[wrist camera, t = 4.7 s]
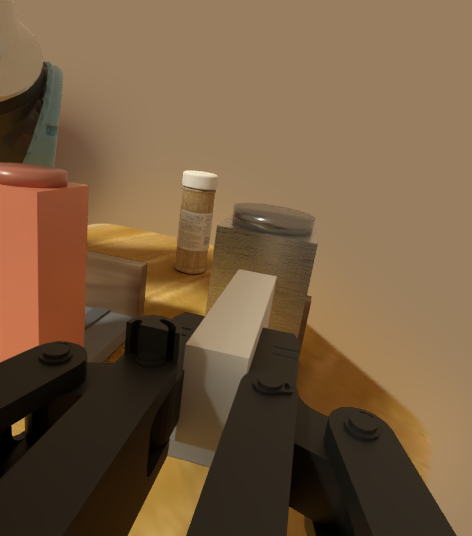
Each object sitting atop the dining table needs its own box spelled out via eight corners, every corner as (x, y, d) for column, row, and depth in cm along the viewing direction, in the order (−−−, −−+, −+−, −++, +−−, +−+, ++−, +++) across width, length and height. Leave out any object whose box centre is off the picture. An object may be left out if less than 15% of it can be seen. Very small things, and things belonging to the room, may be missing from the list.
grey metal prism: (274, 446, 22) (321, 227, 18) (191, 424, 23) (219, 209, 19) (282, 395, 27) (320, 212, 23) (212, 378, 28) (238, 198, 24)
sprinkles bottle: (187, 262, 58) (197, 169, 54) (212, 270, 56) (225, 175, 52) (166, 268, 54) (176, 169, 50) (193, 277, 52) (205, 175, 48)
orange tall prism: (38, 383, 25) (36, 176, 21) (-31, 365, 25) (-46, 162, 21) (84, 346, 29) (88, 173, 25) (24, 332, 30) (20, 161, 26)
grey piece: (43, 420, 24) (42, 329, 22) (-56, 393, 25) (-65, 304, 23) (142, 323, 38) (147, 262, 36) (76, 308, 39) (77, 248, 37)
